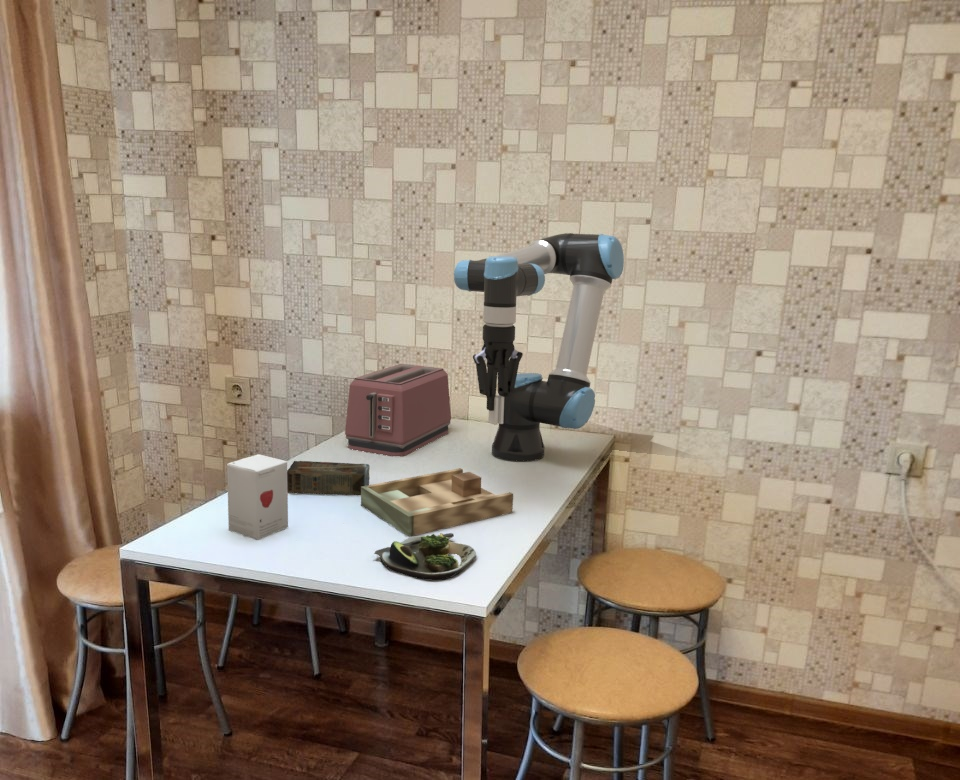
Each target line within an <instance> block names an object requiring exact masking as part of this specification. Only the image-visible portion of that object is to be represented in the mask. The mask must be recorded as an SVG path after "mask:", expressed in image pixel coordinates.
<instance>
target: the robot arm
mask: <svg viewBox="0 0 960 780" xmlns="http://www.w3.org/2000/svg"><path fill="white" fill-rule="evenodd" d="M624 265H625V255H624V249H623V247H622V244H621V241H620V240H619V239H618V238H617V237H616V236H614V235H609V234H603V233H600V234H591V233H573V232H571V233H570V232H569V233H568V232H566V233H559V234H555V235H550V236H547V237H543V238H539V239H536V240H534V241H532V242H531V243H529V244H528V246H526V247H523V248H518V249H515V250H511V251H508V252H505V253H501V254H497V255H493V256H488V257H487V258H482V259H479V260H478V259H477V260H472V259H468V260H467V259H464V260H460V261H459V262H457V263H456V265H455V267H454V270H453V271H454V272H453V281H454V284H455V286H456V287H457V288H458V289H459V290H461V291H462V290H463V291H468V292H478V293H483V315H482V317H483V319H482V321H483V323H484V324H483V326H482V342H483V344H482V347H481V351H480V352H479V353H478V354H472V359H473V362H474V363H475V369H476V374H477V375H476V376H477V383H478V391H479V394H481V395H483V396H485V397H486V410H487V411H488V419H487V420H488V421H487V422H488V423H490V424H492V425H494V426H495V425H496V426H497V425H498V428H497V430H496V432H495V436H494V439H493V443H492V445H491V454H492V456H494V457H495V458H497V459H501V460H504V461H508V462H509V461H510V462H533V461H534V462H535V461H538V460H540V459H543V458H544V457H545V452H546V451H545V449H546V448H545V447H546V446H545V444H544V440H543V436H542V433H541V430H540V429H541V428H540V426H541V424H542V425H543V424H544V425H550V426H554V427H560V428H563V429H574V430H575V429H580V428H582V427H584V426H585V425H586V424H587V423H588V421H589V420H590V418H591V416H592V414H593V412H594V408H595V403H596V399H595V397H596V394H595V391H594V390H593V389H592V388H591V383H592V382H591V381H590V379H589V378H588V376H587V374H588V370H589V364H590V360H591V356H592V350H593V346H594V341H595V337H596V333H597V327H598V323H599V317H600V312H601V308H602V303H603V299H604V294H605V292H606V291H607V290H609V289H610V288H611V287H612V283H613V280H616V279H619V278H620V277H621V275H622V273H623V270H624ZM547 274H555V275H566V276H569V280H570V282H571V284H572V285H573V287H572V291H571V296H570V301H569V305H568V309H567V315H566V320H565V325H564V328H563V333H562V337H561V342H560V347H559V352H558V356H557V361H556V365H555V369H554V370H553V371H551V372H549V373H548V375H547V377H548V378H547V381H545V380H543V379H544V378H543V376H542V374H541V373H536V372H535V373H534V372H533V373H532V372H528V373H527V372H525V373H518V371H519V367H520V366H519V365H520V362H521V359H522V358H523V355H524V353H523V352H521V351H519V350H517V349H515V345H514V342H515V340H516V326H515V325H514V324H516V321H517V297H523V296H533V295H535V294H538V293H539V292H540V291H542V290H543V288H544V286H545V281H546V276H545V275H547Z"/></svg>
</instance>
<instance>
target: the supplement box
mask: <svg viewBox="0 0 960 780" xmlns="http://www.w3.org/2000/svg"><path fill="white" fill-rule="evenodd" d="M226 470H227V471H226V476H227V479H226V480H227V511H228V512H227V515H228V531H230V532H232V533H233V532H234V533H236V534H238V535H242V536H245V537H248V538H252V539H253V540H256V541H258V540H261V539H264V538H266V537H268V536H270V535H271V536H272V534H275V533H278V532H280V531H282V530H285V529H287V527H288V528H289V507H288V506H289V505H288V504H289V501H288V499H289V498H288V496H289V495H288V494H289V493H288V490H287V470H288V461H287V460H283V459H279V458H277V457H276V458H275V457H271V456H267V455H263V454H260V453H259V454H258V453H257V454H254V455H251V456H248V457H243V458H240V459H237V460H235V461H231V462H228V463H227V464H226Z"/></svg>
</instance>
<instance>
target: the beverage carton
mask: <svg viewBox="0 0 960 780" xmlns="http://www.w3.org/2000/svg"><path fill="white" fill-rule="evenodd" d="M370 467H371V466H370V464H368V463H350V462H348V463H347V462H333V461H332V462H330V461H310V460H309V461H308V460H294V461H293V462H292V464H290V467H288V468H287V490H288V494H295V493H297V495H298V494H301V495H305V494H306V495H325V494H326V495H327V496H328V495H332V496H334V495H335V496H361V487H362V486H367V485H370V479H371V478H370Z"/></svg>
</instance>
